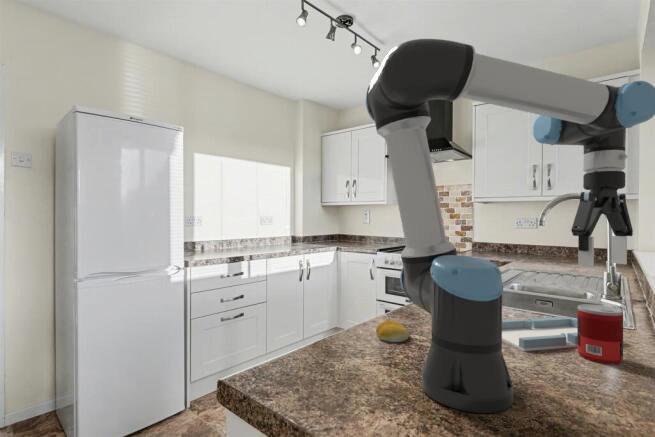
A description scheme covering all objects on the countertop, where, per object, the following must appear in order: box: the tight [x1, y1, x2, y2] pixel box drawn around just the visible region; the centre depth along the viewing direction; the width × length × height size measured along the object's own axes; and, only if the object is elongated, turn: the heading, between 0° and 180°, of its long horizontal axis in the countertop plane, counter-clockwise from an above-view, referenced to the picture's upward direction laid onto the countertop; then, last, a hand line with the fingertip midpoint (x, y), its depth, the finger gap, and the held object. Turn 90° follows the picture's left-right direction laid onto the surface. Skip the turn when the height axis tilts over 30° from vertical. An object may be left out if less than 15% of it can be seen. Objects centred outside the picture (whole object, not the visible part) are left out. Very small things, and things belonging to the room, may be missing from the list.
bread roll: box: [375, 319, 410, 343], centre depth 91 cm, size 8×9×4 cm
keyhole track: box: [502, 316, 578, 352], centre depth 91 cm, size 28×15×3 cm, turn 101°
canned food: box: [576, 303, 624, 365], centre depth 77 cm, size 8×8×11 cm
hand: (603, 265), depth 79 cm, fingers open, 13 cm apart
